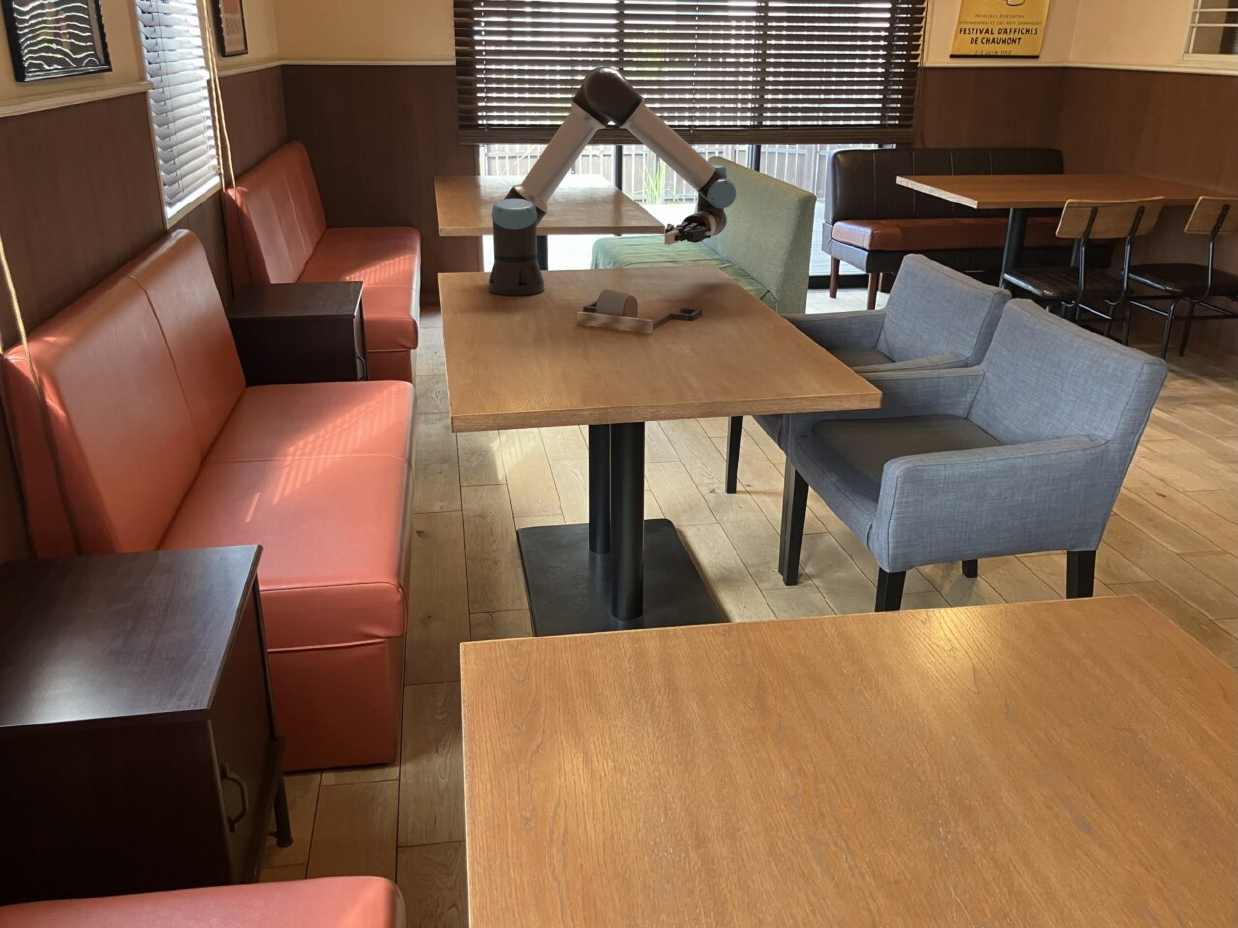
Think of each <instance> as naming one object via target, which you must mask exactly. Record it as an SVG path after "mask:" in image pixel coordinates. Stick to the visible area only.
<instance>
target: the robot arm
mask: <svg viewBox="0 0 1238 928" xmlns="http://www.w3.org/2000/svg"><path fill="white" fill-rule="evenodd" d="M570 105H571V109H570V110H571V111H570V112H569V113H568V115H567V116H566V118H565V119H564V120H563V122H562V124H561V125H560V127H558V130H557V131H556V132H555V134H554V135H553V136H552V138H551V140H550V141H549V142H548V144H547V145H546V146H545V149H544V150H543V151H542V153H541V154H540V155H539V157H538V158H537V160H536V162H535V163H534V165H533V166H532V167H531V169H529V170H530V171H529V172H528V173H527V174H526V176H525V178H524V179H523V181H522V182H521V183H519V184H514V185H512V187H511V188H510V190H509V191H508V192H507V194H506V195H505V197H504V198H503V199H502V200H499V201H496V202H495V203H494V204H493V205H492V209H491V211H492V212H491V219H492V240H493V265H492V269H491V272H490V274H489V275H490V276H489V279H488V291H489V293H493V294H495V295H501V296H530V295H536V294H539V293H542V292H544V291H545V280H544V277H543V274H542V271H541V268H540V266H539V262H538V234H537V232H538V231H537V230H538V229H537V227H538V226H539V224H540V223H541V222H542V221H543V218H544V217H545V216H546V214H547V213H548V202H549V200H550V199H551V198H552V196H553V194H554V193H555V191H556V190H557V189H558V187H559V185H560V184H561V183H562V181H563V180H564V179H565V176H567V174H568V173H569V171H570V170H571V169H572V167H573V166H574V165H575V163H576V161H577V160H578V158H579V157H580V155H581V154H582V153H583V152H584V150H585V148H586V147H587V145H588V144H589V143H590V141H591V139H592V138H593V137H594V135H595V134H596V132H597V131H598V130H601V129H606V128H607V126H608V125H609V123H610V122H612V123H614V125H616V127H618V128H619V129H626V130H627V131H629V132H630V133H631V134H632V135H633V136H634V137H635V138H637V139H638V141H640V142H641V143H642V144H643V145H644V146H646V147H647V148H648V149H649V150H650V151H651V152H652V153H653V154H655V156H657V157H658V158H659V159H660V160H661V161H662V162H664V163H665V164H666V165H667V166H668V167H669V168H670V169H672V170H673V171H674V172H675V173H676V174H677V175H679V176H680V177H681V178H682V179H683V180H684V181H685V182H686V183H687V184H688V185H690V187H692V188H693V190H694V189H695V190H696V192H697V207H696V212H695V213H692V214H690V215H688V216H686V217H685V218H684V219H683V220H682V222H681V224H680V223H679V224H677V225H676V226H675V224H671V223H667V224H666V227H665V229H664V243H663V244H664V245H667V246H671V245H673V244H675V243H678V242H684V241H686V242H688V243H692V244H693V243H694V244H697V243H700V242H703V241H704V240H706V239H710V238H711V237H714V236H717V235H719V234H720V233H721V232H723V230H725V228H726V227H727V224H728V216H727V214H726V212H725V211H724V210H725V209H726V208H730V206H732V205H733V204H734V202H735V200H736V199H737V188H736V186H735V185H734V183H733V182H732V181H731V180H730V179H728V176H727V168H726V166H725V165H719V164H711V163H710V162H709V161H707V160H706V159H705V158H704V157H703V156H702V155H701V154H700V153H699V152H698V151H696V149H695V148H693V147H692V145H691V144H689V143H688V142H687V141H686V140H684V139H683V137H681V135H679V134H678V133H677V132H676V131H675V130H673V129H672V128H671V127H670V126H669V125H668V124H667V123H666V122H665V121H663V119H661V118H660V117H659V116H658V115H657V114H656V113H655V112H654V111H653V110H652V109H650V107H648V106H647V105H646V104H645V98H644V97H643V96H642V95H641V94H640V93H639V92H638V91H637V90H636V89H635V88H634V86H632V84H630V82H629V81H628V80H627V78H626V77H625V76H624V74H623V73H622V72H620V71H619V70H617V69H615V68H613V67H610V66H598V67H596V68H593V69H591V70H590V71H589V72H588V73H586V75H585V76H584V78H583V81H582V83H581V86H580V87H579V88H578V89H577V91H576V93H575V94H574V95H573V97H572V99H571V100H570Z"/></svg>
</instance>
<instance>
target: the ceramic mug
mask: <svg viewBox="0 0 1238 928" xmlns="http://www.w3.org/2000/svg"><path fill="white" fill-rule="evenodd" d="M596 301H597V304H596V313H597V314H605V315H614V316H623V317H632V318H638V312H639V311H638V310H639V303H638V300H637V298H636V297H635V296H634V295H632V294H629V293H625V292H621V291H616V290H611V289H608V288H606V289H604V290H602V291H601V292H600V293H599V295H598V297H597V299H596Z"/></svg>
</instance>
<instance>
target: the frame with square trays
mask: <svg viewBox="0 0 1238 928" xmlns="http://www.w3.org/2000/svg"><path fill="white" fill-rule="evenodd" d="M596 304H597V300H594V301H592V302H590V303H588V304H586V305H584V306H582V310H583V311H577V312H576V325H577V326H582V325H586V326H585V327H590V326H596V327H595V328H598V327H602V328H601V329H607V328H611V329H610V330H615V329H619V330H618V331H624V330H625V331H626V332H633V333H635V332H636V333H643V334H651V335H652V333H653V332H654V330H655V329H656V328H657V327H659V326H660V325H663V324H664V323H666V322H667V321H670V320H671V319H675V320H683V321H694V320H695V319H697V318H698V317H700V316H702V315H703V309H699V308H691V307H680V308H679V312H667V313H666V314H664V315H662V316H660V317H659V318H657V319H655V320H654V319H648V318H640V317H639V318H638V317H637V318H632V317H623V316H614V315H605V314H597V313H596ZM625 331H624V332H625Z"/></svg>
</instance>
